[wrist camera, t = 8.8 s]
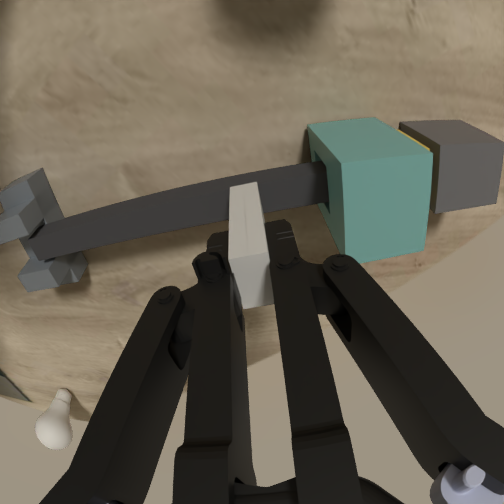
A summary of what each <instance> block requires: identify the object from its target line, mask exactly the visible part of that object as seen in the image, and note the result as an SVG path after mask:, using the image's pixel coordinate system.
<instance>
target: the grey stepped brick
mask: <svg viewBox="0 0 504 504" xmlns="http://www.w3.org/2000/svg"><path fill="white" fill-rule="evenodd" d="M0 202H1V204H2V206H3V208H4V210H5V211H4V212H3V213H2V214H1V215H0V244H3V243H6V242H9V241H12V240H15V239H18V238H19V240H20V242H21V243H22V245H23V247H24V249H25V251H26V252H27V254H28V256H29V258H30V259H29V260H28V262H27V263H26V264H25V266H24V267H23V269H22V270H21V271H20V273H19V274H18V278H19V280H20V281H21V283H22V284H23V286H24V287H25V289H26V290H27V292H32V291H37V290H43V289H49V288H55V287H59V286H60V285H63V284H68V283H74V282H79V280H80V278H81V276H82V275H83V273H84V271H85V269H86V267H87V265H88V263H87V261H86V259H85V258H84V256H83V254H82V252H81V251H79V252H74V253H70V254H66V255H62V256H58V257H53V258H49V259H45V260H41V261H39V260H38V259H37V257H36V255H35V253H34V252H33V250H32V248H31V246H30V244H29V243H28V241H27V240H28V239H29V238H30V236H31V235H32V234H33V233H34V232H35V231H36V229H37V228H38V227H39V226H42V225H45V224H48V223H52V222H55V221H58V220H61V219H64V216H63V214H62V212H61V210H60V207H59V205H58V203H57V201H56V199H55V196H54V194H53V192H52V189H51V187H50V185H49V182H48V180H47V178H46V175H45V173H44V170H43V168H40V169H38V170H36V171H34V172H32V173H29V174H27V175H25V176H23V177H21V178H19V179H17V180H15V181H13V182H11V183H10V184H9V185H8V186H6V187H5V188H4V189H3V190H2V191H0Z"/></svg>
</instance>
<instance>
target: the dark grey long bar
mask: <svg viewBox="0 0 504 504" xmlns="http://www.w3.org/2000/svg"><path fill="white" fill-rule="evenodd" d="M397 131H399V132H400V133H402V134H404V135H405V136H407V137H409V138H410V139H412V140H413V141H415V142H417V143H418V144H420V145H421V146H423V147H424V148H426V149H427V150H429V151H430V149H429V148H428V147H426V146H424V145H423V144H421V143H420V142H418V141H417V140H415V139H413V138H412V137H410V136H408V135H407V134H405V133H403V132H402V131H400V130H397ZM253 182H257V185H258V190H259V195H260V200H261V205H262V210H263V213H267V212H273V211H278V210H284V209H290V208H295V207H301V206H307V205H313V204H319V203H325V202H329V192H328V180H327V170H326V166H325V164H324V163H323V161H316V162H309V163H303V164H296V165H290V166H284V167H278V168H273V169H267V170H261V171H256V172H251V173H245V174H240V175H235V176H230V177H225V178H220V179H216V180H211V181H206V182H202V183H197V184H192V185H188V186H184V187H179V188H175V189H171V190H167V191H162V192H158V193H154V194H150V195H146V196H142V197H138V198H135V199H131V200H127V201H123V202H119V203H116V204H112V205H109V206H105V207H101V208H98V209H94V210H91V211H87V212H84V213H81V214H77V215H74V216H71V217H67V218H64V219H61V220H58V221H55V222H52V223H48V224H45V225H42V226H39V227H38V228H37V229H36V231H35V232H34V233H33V234H32V235H31V236H30V238H29V239H28V240H27V241H28V243H29V244H30V246H31V248H32V250H33V252H34V253H35V255H36V257H37V259H38V260H39V261H41V260H45V259H49V258H53V257H58V256H62V255H66V254H70V253H74V252H79V251H83V250H87V249H91V248H96V247H100V246H104V245H109V244H113V243H118V242H122V241H127V240H131V239H136V238H141V237H145V236H150V235H155V234H159V233H164V232H169V231H174V230H179V229H184V228H188V227H193V226H198V225H204V224H209V223H214V222H219V221H224V220H229V202H230V187H233V186H238V185H243V184H248V183H253Z"/></svg>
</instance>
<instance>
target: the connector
mask: <svg viewBox="0 0 504 504" xmlns="http://www.w3.org/2000/svg"><path fill="white" fill-rule="evenodd" d="M400 131H402V132H403V133H405V134H407V135H408V136H410V137H412V138H413V139H415V140H417V141H418V142H420V143H421V144H423V145H424V146H426V147H428V148H429V149H430V152H432V153H433V166H432V182H431V194H430V205H429V208H430V209H431V210H432V211H433V212H434V213H435V214H437V213H443V212H449V211H455V210H461V209H467V208H473V207H479V206H485V205H491V204H496V202H497V196H498V190H499V184H500V178H501V171H502V163H503V155H504V142H503V141H501V140H499V139H497V138H495V137H494V136H492V135H490V134H488V133H486V132H484V131H482V130H480V129H478V128H476V127H474V126H472V125H470V124H468V123H466V122H464V121H462V120H431V121H408V122H400Z"/></svg>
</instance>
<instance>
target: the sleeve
mask: <svg viewBox="0 0 504 504" xmlns="http://www.w3.org/2000/svg"><path fill="white" fill-rule="evenodd" d="M307 129H308V136H309V144H310V151H311V160H312V162H316V161H323V163H324V164H325V166H326V170H327V180H328V192H329V202H325V203H319V204H318V206H319V208H320V211H321V213H322V215H323V217H324V219H325V221H326V223H327V226H328V228H329V230H330V232H331V234H332V237H333V239H334V241H335V243H336V246H337V248H338V250H339V252H340V254H345V255H349V256H351V257H353V258H354V259H355V260H356V261H357V262H358V263H359V264H360V263H365V262H370V261H375V260H380V259H385V258H390V257H395V256H400V255H405V254H409V253H414V252H419V251H424V245H425V238H426V231H427V223H428V214H429V205H430V194H431V182H432V166H433V153H432V152H430V151H429V150H427V149H426V148H424V147H423V146H421V145H420V144H418V143H417V142H415V141H413V140H412V139H410V138H409V137H407V136H405V135H404V134H402V133H400V132H399V131H397V130H396V129H394V128H392V127H390V126H389V125H387V124H385V123H384V122H382V121H380V120H378V119H376V118H375V117H373V118H361V119H350V120H341V121H332V122H324V123H316V124H308V125H307Z"/></svg>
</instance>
